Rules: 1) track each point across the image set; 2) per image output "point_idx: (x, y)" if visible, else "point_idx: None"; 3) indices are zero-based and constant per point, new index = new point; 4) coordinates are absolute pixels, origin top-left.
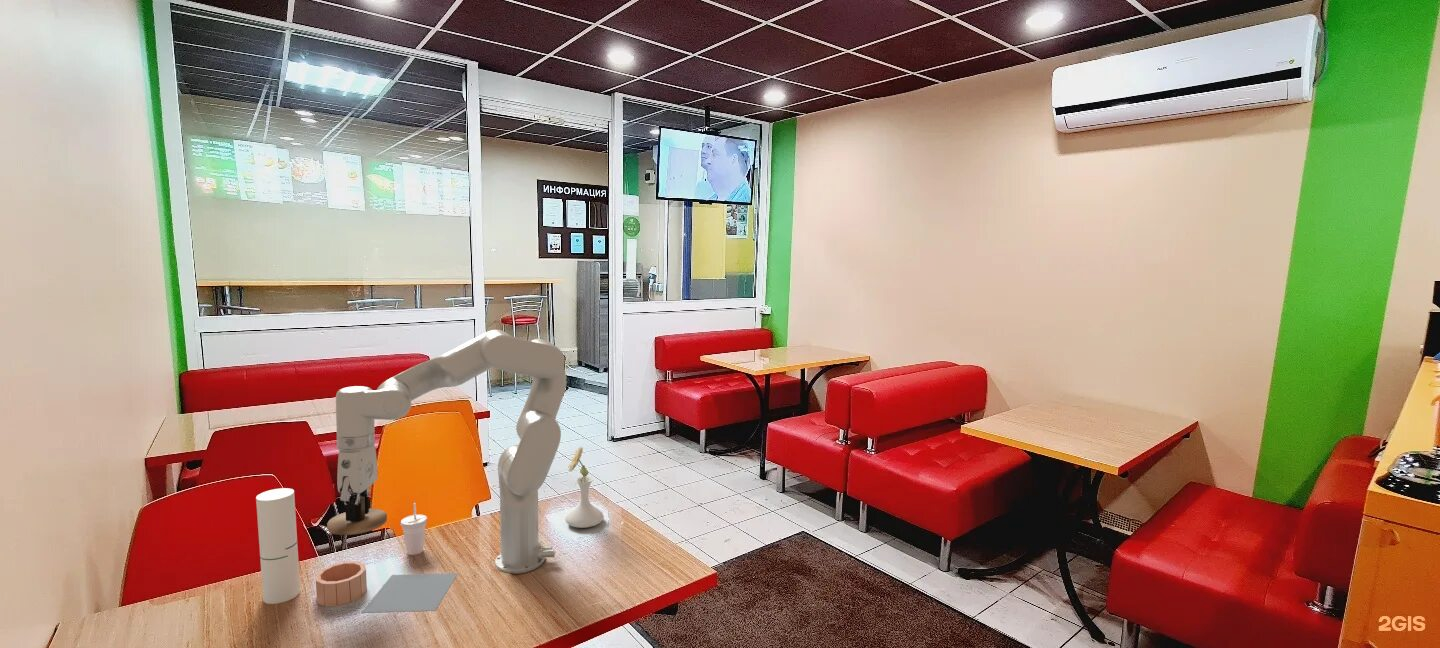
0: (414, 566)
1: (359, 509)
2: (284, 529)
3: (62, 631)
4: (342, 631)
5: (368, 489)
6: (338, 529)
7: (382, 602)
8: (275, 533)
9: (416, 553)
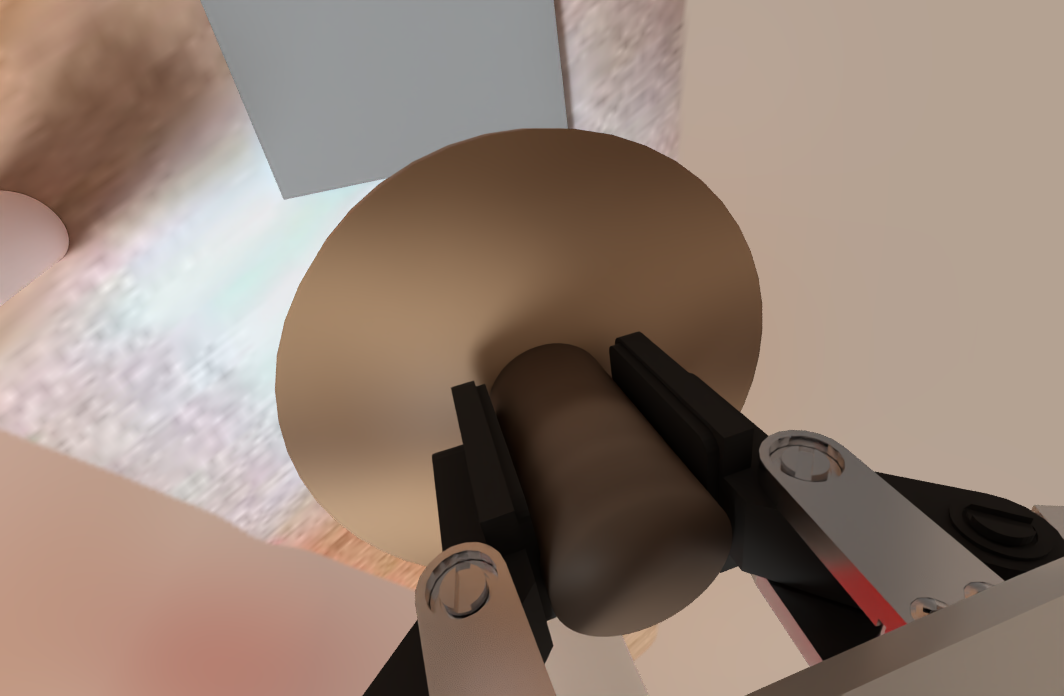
0: (146, 147)
1: (704, 396)
2: (604, 649)
3: (644, 650)
4: (654, 142)
5: (460, 670)
6: (735, 391)
7: (495, 95)
8: (625, 646)
9: (33, 205)
